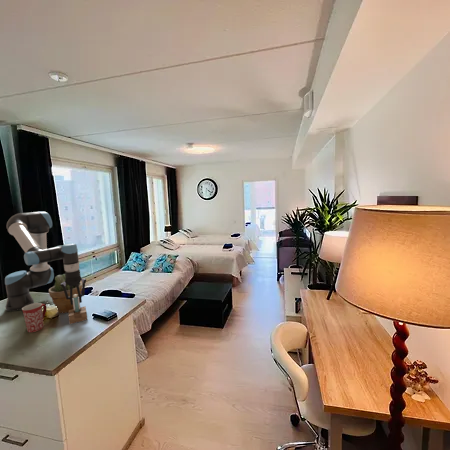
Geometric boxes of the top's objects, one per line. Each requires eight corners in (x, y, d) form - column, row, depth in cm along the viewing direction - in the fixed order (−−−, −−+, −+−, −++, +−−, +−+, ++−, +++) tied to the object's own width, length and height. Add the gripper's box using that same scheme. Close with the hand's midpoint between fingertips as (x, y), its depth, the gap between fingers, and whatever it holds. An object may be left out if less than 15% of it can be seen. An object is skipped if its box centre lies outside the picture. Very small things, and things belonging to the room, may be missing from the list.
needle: (75, 317, 153) (72, 294, 151) (80, 315, 155) (77, 293, 153) (75, 318, 151) (72, 296, 149) (80, 317, 152) (77, 295, 150)
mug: (35, 334, 138) (31, 310, 136) (21, 333, 140) (17, 309, 138) (54, 322, 150) (51, 300, 148) (41, 321, 152) (38, 299, 150)
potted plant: (66, 317, 155) (61, 278, 152) (44, 314, 161) (38, 276, 158) (90, 304, 172) (86, 268, 169) (70, 302, 178) (65, 267, 175)
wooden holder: (69, 318, 154) (68, 310, 154) (86, 313, 159) (85, 306, 158) (69, 324, 147) (68, 316, 146) (87, 319, 151) (86, 311, 151)
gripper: (56, 274, 142) (62, 314, 145) (87, 269, 150) (91, 307, 153) (57, 271, 148) (62, 309, 151) (86, 266, 156) (90, 303, 159)
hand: (77, 308), depth 152 cm, fingers closed on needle, 2 cm apart
